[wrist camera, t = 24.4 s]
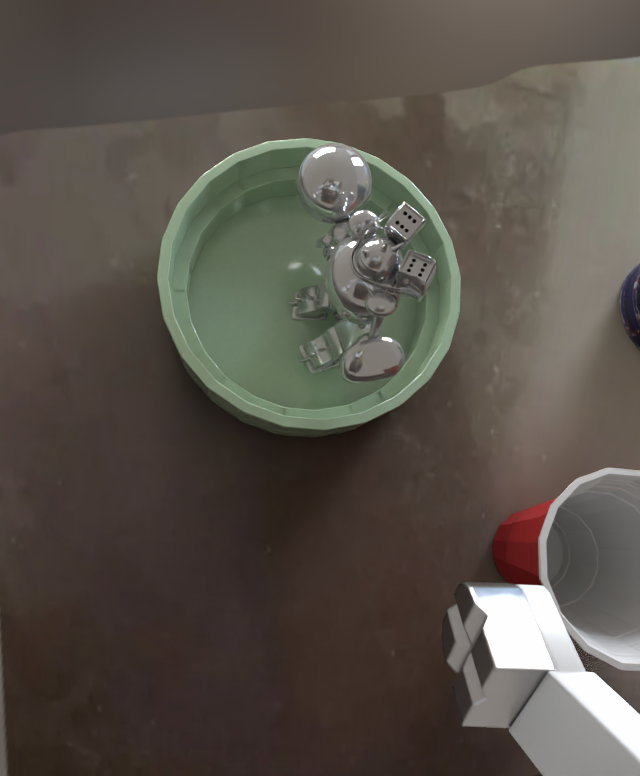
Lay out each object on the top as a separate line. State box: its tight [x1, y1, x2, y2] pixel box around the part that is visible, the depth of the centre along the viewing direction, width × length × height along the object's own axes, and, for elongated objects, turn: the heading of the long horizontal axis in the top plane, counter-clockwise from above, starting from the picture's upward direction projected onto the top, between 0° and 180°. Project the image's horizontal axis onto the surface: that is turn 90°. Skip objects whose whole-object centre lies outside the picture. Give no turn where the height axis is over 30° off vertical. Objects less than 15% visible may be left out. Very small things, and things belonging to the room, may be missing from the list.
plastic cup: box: [493, 468, 640, 671], centre depth 37 cm, size 11×11×12 cm
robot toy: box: [287, 143, 436, 383], centre depth 36 cm, size 15×6×15 cm, turn 12°
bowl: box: [157, 138, 460, 437], centre depth 41 cm, size 20×20×6 cm
